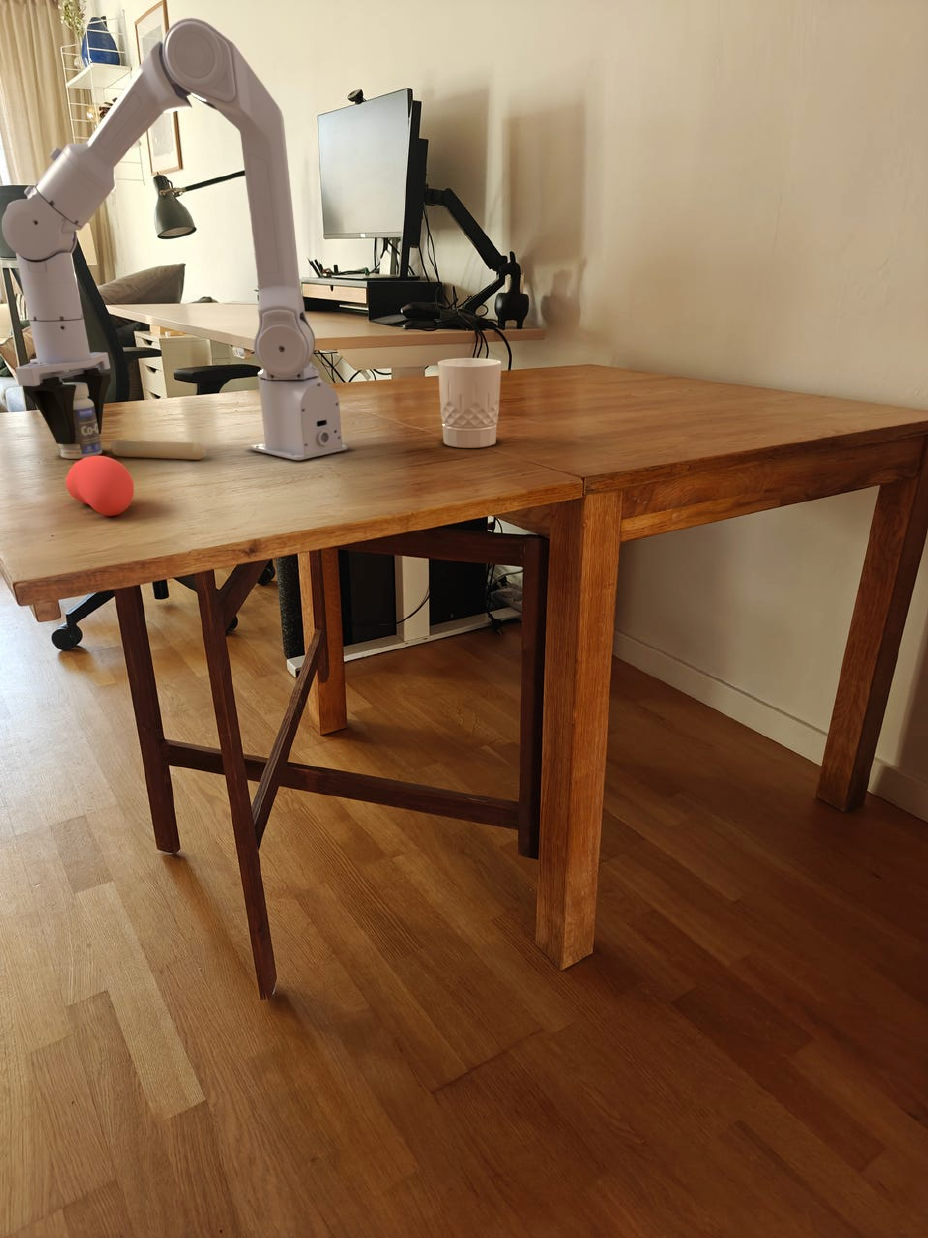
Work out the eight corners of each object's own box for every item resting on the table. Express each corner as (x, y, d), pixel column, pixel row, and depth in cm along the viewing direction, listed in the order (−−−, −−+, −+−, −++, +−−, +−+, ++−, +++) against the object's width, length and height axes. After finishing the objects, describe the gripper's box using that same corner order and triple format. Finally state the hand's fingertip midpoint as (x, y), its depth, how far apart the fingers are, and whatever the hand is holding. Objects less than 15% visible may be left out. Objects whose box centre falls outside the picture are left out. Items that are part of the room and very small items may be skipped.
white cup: (506, 438, 109) (507, 358, 105) (492, 451, 102) (493, 366, 98) (449, 434, 111) (448, 357, 107) (431, 447, 104) (429, 364, 100)
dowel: (208, 460, 100) (208, 443, 99) (200, 459, 98) (200, 442, 97) (117, 456, 102) (117, 440, 101) (107, 455, 100) (107, 438, 100)
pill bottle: (92, 459, 99) (79, 387, 96) (53, 459, 99) (38, 387, 96) (109, 450, 104) (96, 381, 100) (71, 450, 104) (58, 381, 100)
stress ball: (139, 506, 86) (103, 452, 84) (152, 494, 78) (112, 434, 76) (93, 532, 84) (55, 477, 82) (102, 522, 76) (59, 461, 74)
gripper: (64, 314, 102) (85, 425, 108) (-20, 324, 89) (9, 450, 95) (116, 314, 101) (135, 427, 107) (39, 325, 88) (65, 453, 94)
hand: (79, 438), depth 101 cm, fingers closed on pill bottle, 5 cm apart
